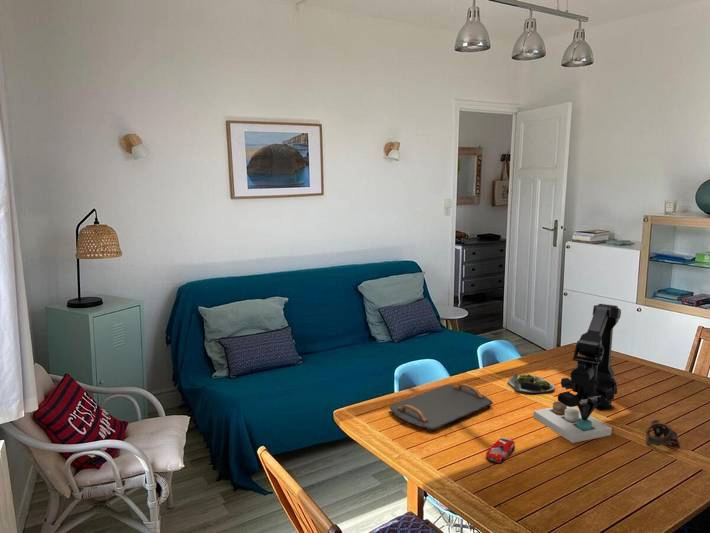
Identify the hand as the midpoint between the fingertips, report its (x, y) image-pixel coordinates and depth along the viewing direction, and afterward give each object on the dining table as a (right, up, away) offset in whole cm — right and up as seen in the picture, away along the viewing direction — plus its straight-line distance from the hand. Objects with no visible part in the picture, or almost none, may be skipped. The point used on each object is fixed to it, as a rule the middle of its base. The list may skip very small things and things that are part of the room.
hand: (584, 420), depth 179 cm
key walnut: (-4, -1, +12) cm, 12 cm away
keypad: (-2, -4, +6) cm, 8 cm away
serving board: (-45, -3, +19) cm, 49 cm away
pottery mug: (+22, -6, -6) cm, 24 cm away
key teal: (0, -4, +1) cm, 4 cm away
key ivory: (-2, -2, +6) cm, 7 cm away
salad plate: (-5, +1, +41) cm, 41 cm away
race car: (-31, -8, -12) cm, 34 cm away
